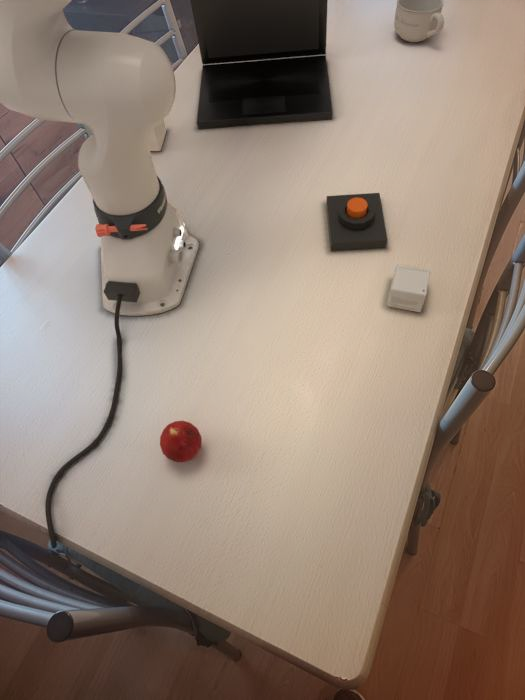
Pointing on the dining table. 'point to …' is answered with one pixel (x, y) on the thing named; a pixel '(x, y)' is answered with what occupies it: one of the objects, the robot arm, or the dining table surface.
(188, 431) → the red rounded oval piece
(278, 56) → the laptop screen
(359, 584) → the dining table surface
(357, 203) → the switch button
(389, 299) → the small box
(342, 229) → the switch block
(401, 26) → the teacup
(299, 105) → the laptop
